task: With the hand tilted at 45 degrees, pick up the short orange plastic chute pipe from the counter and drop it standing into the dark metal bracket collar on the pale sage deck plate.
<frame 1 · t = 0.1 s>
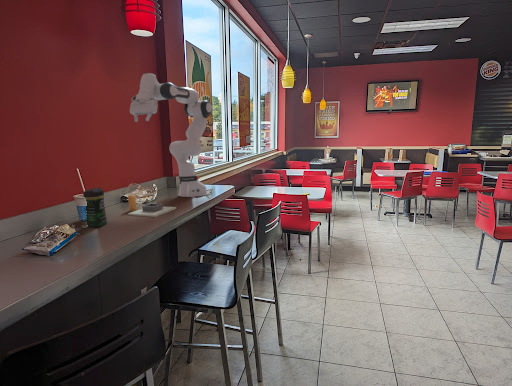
hand: (141, 120, 201), 52 cm above the worktop, tool tilted 20°, fingers open, 8 cm apart
coffee jar: (97, 225, 167), on the worktop
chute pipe: (133, 210, 197), on the worktop
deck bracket: (153, 211, 193), on the worktop
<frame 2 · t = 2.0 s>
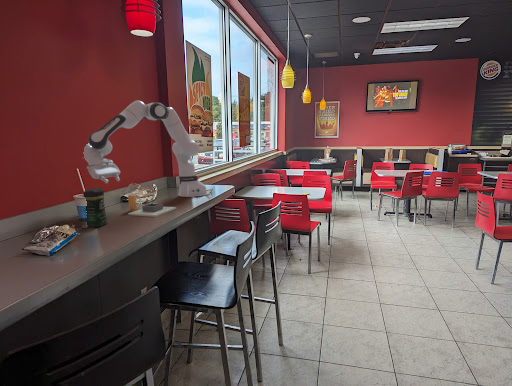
hand: (113, 181, 198), 17 cm above the worktop, tool tilted 45°, fingers open, 8 cm apart
nothing on the worktop moved.
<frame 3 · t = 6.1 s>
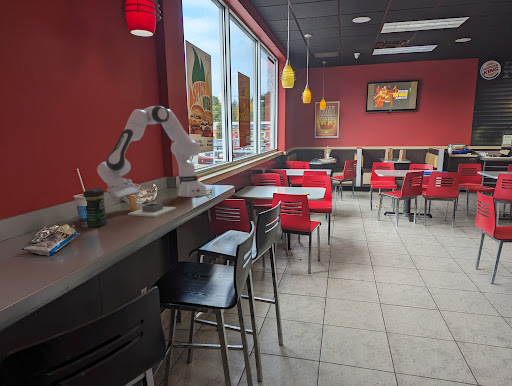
hand: (133, 202, 196), 5 cm above the worktop, tool tilted 45°, fingers closed on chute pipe, 4 cm apart
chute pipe: (133, 210, 197), on the worktop, touching gripper
everything else where it was.
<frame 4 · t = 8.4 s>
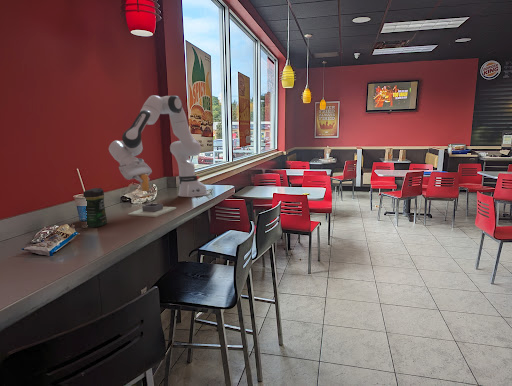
hand: (145, 181, 191), 18 cm above the worktop, tool tilted 45°, fingers closed on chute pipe, 4 cm apart
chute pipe: (145, 190, 192), point 12 cm above the worktop, touching gripper
everything else where it was.
when the fingers open (8 cm above the worktop, at t = 11.0 s): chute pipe drops 1 cm, resting on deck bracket.
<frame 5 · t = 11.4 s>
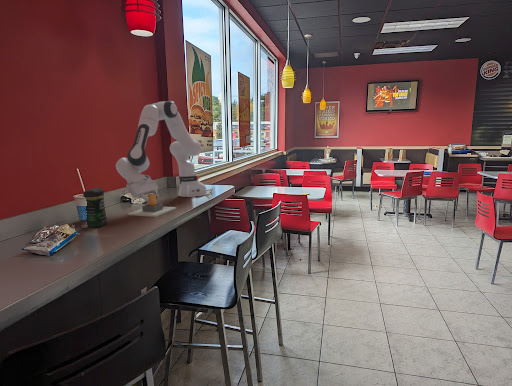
hand: (152, 198, 191), 8 cm above the worktop, tool tilted 45°, fingers open, 8 cm apart
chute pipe: (152, 210, 193), point 1 cm above the worktop, touching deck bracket
everything else where it was.
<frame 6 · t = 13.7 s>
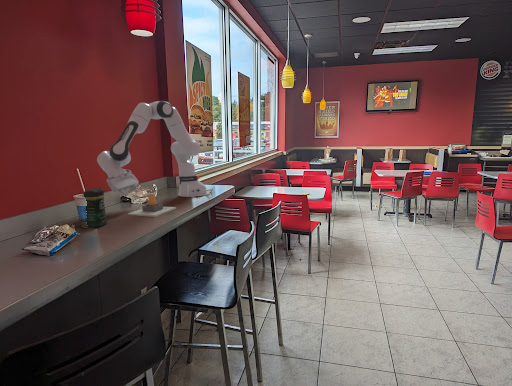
hand: (132, 193, 197), 10 cm above the worktop, tool tilted 40°, fingers open, 8 cm apart
nothing on the worktop moved.
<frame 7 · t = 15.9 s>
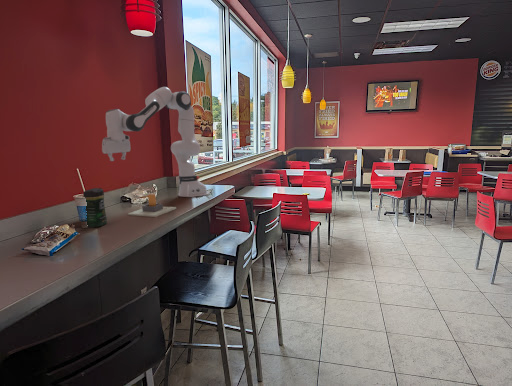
hand: (117, 160, 202), 29 cm above the worktop, tool pointing down, fingers open, 8 cm apart
nothing on the worktop moved.
at the end: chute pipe 0.0 cm off-centre on the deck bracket, point 1.0 cm above the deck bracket's base; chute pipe tilted 0°; the gripper is holding nothing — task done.
